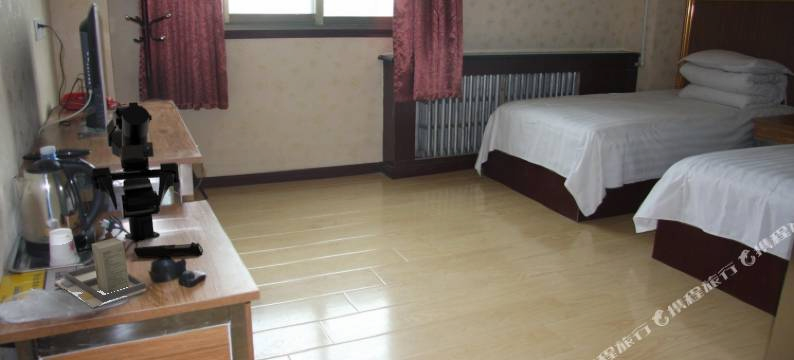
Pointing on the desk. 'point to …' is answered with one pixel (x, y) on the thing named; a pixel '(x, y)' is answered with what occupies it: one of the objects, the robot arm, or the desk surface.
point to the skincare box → (110, 265)
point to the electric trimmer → (169, 250)
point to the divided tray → (96, 286)
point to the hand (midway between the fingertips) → (137, 207)
